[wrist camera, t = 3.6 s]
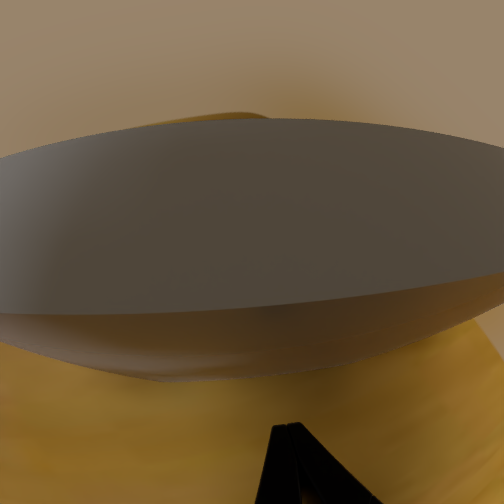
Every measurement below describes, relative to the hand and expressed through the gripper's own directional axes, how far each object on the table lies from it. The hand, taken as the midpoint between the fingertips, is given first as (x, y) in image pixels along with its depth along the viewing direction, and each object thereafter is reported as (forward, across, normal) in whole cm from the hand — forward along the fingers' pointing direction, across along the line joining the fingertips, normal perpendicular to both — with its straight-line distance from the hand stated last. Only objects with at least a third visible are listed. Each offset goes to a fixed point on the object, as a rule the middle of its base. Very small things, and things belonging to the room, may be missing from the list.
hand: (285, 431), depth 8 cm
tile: (+7, 0, +3) cm, 8 cm away
